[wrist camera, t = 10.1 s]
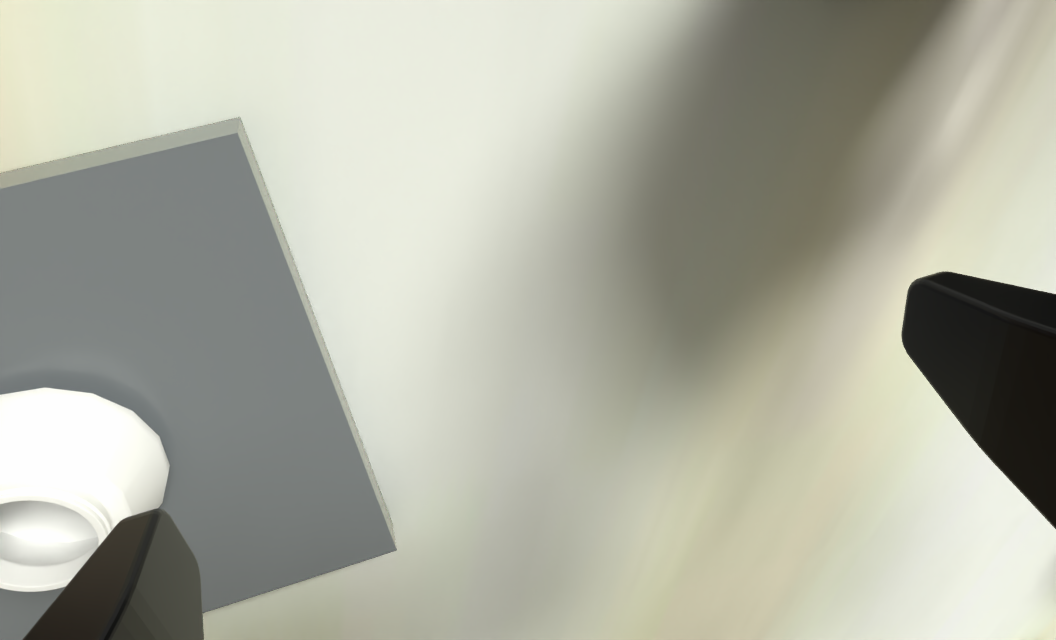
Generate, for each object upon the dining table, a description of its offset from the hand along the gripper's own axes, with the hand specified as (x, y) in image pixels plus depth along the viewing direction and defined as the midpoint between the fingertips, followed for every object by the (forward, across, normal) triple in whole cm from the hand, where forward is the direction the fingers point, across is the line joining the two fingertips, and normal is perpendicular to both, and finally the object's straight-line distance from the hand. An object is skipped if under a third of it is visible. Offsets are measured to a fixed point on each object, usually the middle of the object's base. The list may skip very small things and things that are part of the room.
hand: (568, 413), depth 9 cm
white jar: (+11, +11, +6) cm, 17 cm away
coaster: (+12, +11, +6) cm, 17 cm away
